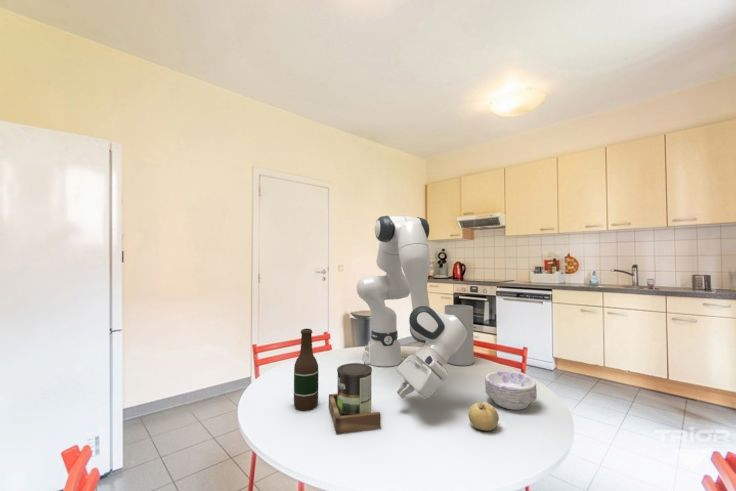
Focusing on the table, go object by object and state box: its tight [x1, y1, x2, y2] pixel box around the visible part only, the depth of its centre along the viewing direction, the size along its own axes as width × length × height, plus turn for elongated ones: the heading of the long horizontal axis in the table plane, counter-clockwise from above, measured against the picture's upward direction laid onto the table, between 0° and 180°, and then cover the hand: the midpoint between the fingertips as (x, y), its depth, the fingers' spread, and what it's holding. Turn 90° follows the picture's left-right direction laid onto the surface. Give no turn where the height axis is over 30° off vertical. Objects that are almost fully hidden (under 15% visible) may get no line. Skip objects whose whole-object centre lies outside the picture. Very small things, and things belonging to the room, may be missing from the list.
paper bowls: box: [484, 370, 538, 411], centre depth 105 cm, size 15×15×8 cm
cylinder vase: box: [444, 304, 475, 367], centre depth 149 cm, size 12×12×25 cm
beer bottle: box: [293, 328, 319, 412], centre depth 104 cm, size 8×8×24 cm
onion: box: [467, 401, 500, 431], centre depth 91 cm, size 8×8×7 cm
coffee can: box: [336, 362, 373, 416], centre depth 96 cm, size 10×10×14 cm
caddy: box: [328, 393, 382, 435], centre depth 96 cm, size 16×12×4 cm
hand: (399, 395), depth 100 cm, fingers closed
